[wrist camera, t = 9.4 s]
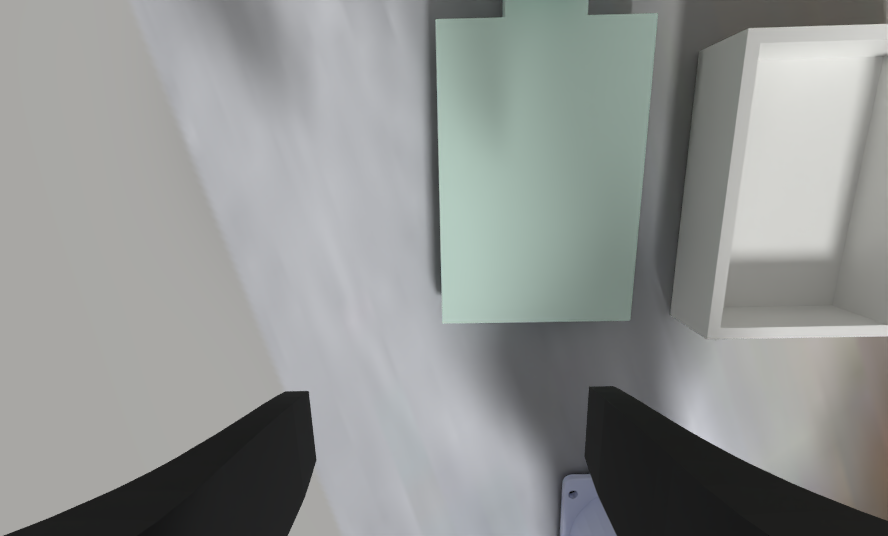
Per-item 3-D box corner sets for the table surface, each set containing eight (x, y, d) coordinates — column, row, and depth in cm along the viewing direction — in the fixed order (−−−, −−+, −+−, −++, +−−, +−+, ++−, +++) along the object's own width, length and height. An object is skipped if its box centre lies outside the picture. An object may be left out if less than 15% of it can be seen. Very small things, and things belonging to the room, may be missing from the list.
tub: (833, 312, 20) (897, 335, 17) (669, 315, 20) (706, 339, 18) (888, 45, 18) (976, 21, 15) (699, 51, 18) (748, 28, 15)
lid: (614, 307, 21) (658, 344, 16) (442, 310, 21) (441, 347, 16) (646, -87, 17) (715, -175, 12) (434, -80, 17) (429, -166, 12)
